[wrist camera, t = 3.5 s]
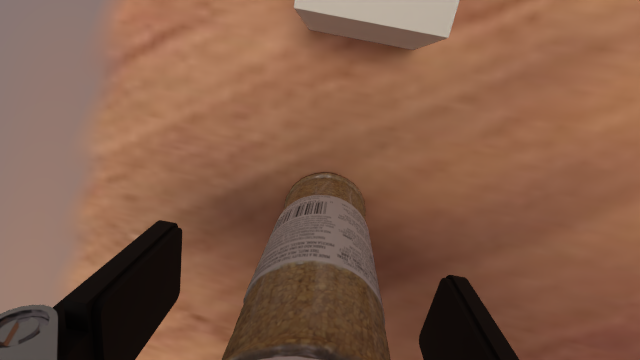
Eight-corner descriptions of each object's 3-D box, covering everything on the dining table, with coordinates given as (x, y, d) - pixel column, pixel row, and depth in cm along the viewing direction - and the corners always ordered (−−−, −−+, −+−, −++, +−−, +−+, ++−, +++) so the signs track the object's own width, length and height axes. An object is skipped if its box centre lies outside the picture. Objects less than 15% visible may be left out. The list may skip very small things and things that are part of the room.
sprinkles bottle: (293, 247, 18) (183, 647, 5) (278, 174, 17) (83, 487, 4) (370, 239, 18) (448, 659, 5) (361, 164, 16) (439, 481, 4)
